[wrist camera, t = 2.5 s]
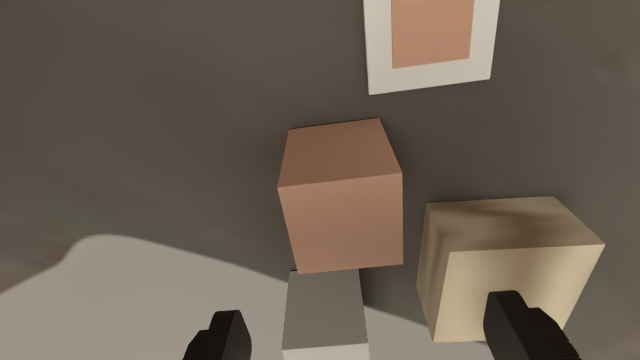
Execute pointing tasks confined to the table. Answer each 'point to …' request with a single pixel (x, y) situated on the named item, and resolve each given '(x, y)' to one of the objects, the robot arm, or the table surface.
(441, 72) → the card
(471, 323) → the birch base block
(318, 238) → the terracotta block
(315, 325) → the grey block
